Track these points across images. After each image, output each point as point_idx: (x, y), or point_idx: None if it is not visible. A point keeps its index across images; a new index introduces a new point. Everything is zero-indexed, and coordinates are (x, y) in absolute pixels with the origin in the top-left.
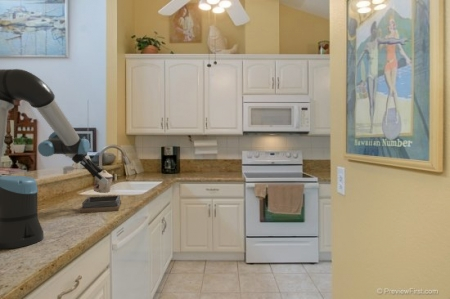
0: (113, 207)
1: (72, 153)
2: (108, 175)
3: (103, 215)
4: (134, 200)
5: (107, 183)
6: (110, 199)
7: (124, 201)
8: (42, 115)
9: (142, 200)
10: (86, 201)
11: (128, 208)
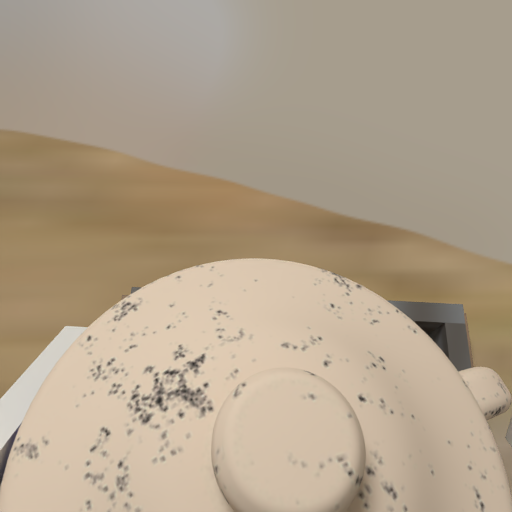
0: (470, 354)
1: None
2: (381, 337)
3: None
4: (50, 202)
5: (501, 381)
6: None
7: (50, 280)
8: None
9: (86, 148)
10: None
11: (376, 248)
